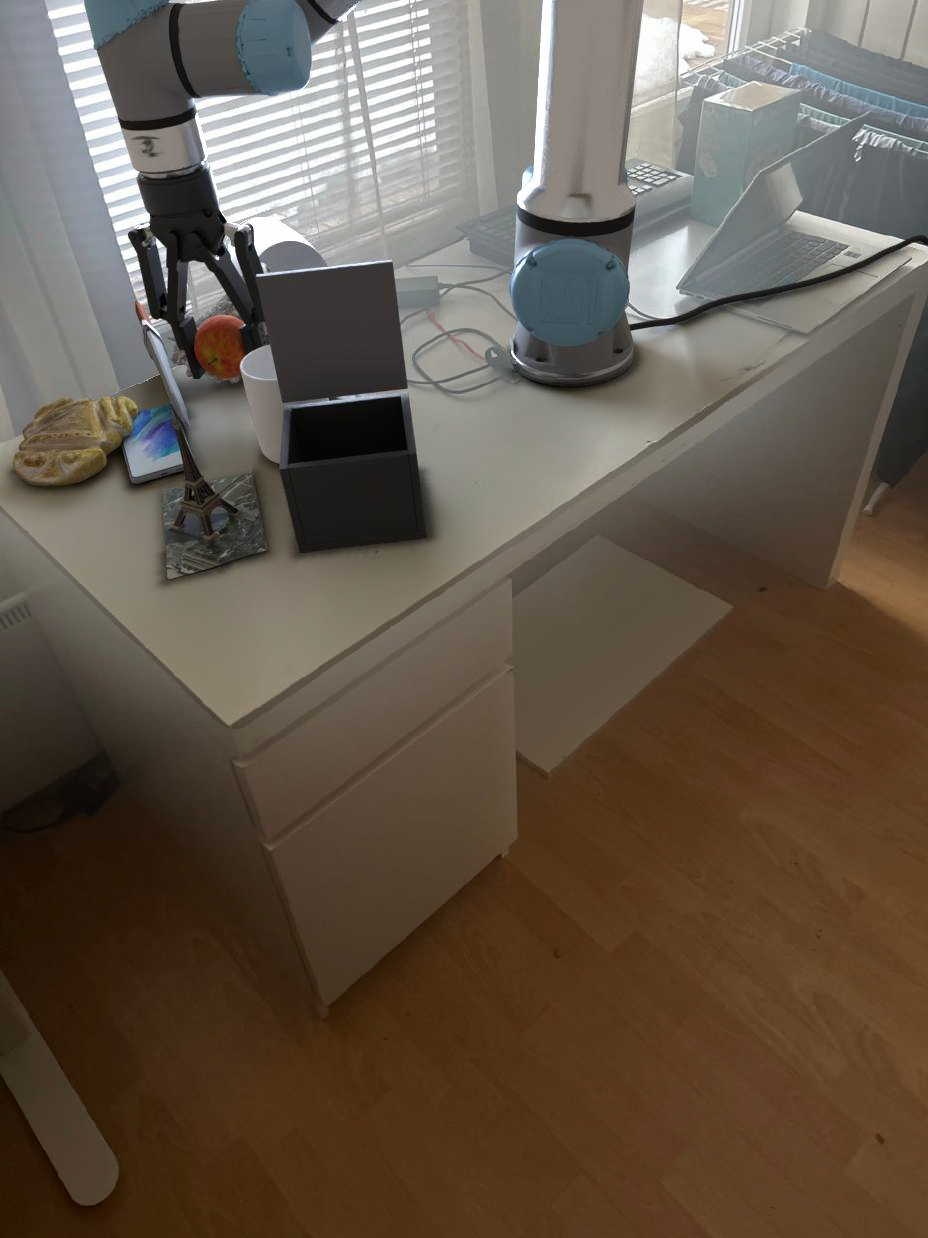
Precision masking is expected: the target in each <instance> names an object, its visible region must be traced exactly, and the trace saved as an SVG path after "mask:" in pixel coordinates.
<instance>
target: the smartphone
mask: <svg viewBox="0 0 928 1238" xmlns="http://www.w3.org/2000/svg"><path fill="white" fill-rule="evenodd" d="M171 409H172V410H171ZM172 411H173V413H172ZM173 414H174V416H173ZM174 417H175V418H176V419H177V420H179V422H180V423H181V424H180V427H181V430H182V433H183V435H184V438H185V440H186V442H187V445H188V447H189V450H190V452H191V454H192V457H193V459H194V461H195V458H194V455H193V453H192V449H191V447H190V444H189V442H188V439H187V437H186V434H185V431H184V426H183V424H182V421H181V420H180V419H179V417H178V416H177V414H176V412H175V410H174V408H173V406H172V404H171V403H166V404H162V405H159V406H156V407H151V408H148V409H144V410H141V411H138V416H137V418H136V420H134V421H133V423H134V426H133V430H132V432H131V434H130V435H128V436H126V437H124V438H123V440H122V442H121V444H120V446H121V449H122V452H123V457H124V460H125V464H126V468H127V473H128V475H129V479H130V481H131V483H132V484H135V485H136V484H141V483H142V484H143V483H145V482H149V481H152V480H155V479H160V478H162V477H165V476H169V475H173V474H176V473H179V472H184V467H183V462H182V457H181V453H180V449H179V444H178V440H177V436H176V432H175V429H174V426H172V421H173V419H174ZM195 462H196V461H195Z"/></svg>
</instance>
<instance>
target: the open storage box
mask: <svg viewBox="0 0 928 1238" xmlns="http://www.w3.org/2000/svg"><path fill="white" fill-rule="evenodd" d="M413 423H414V422H413V416H412V408H411V400H410V394H409V391H404V392H394V393H386V394H378V395H376V396H367V397H359V398H350V399H333V400H329V401H324V402H315V403H307V404H298V405H288V406H284V409H283V423H282V437H281V452H280V464H279V469H278V470H279V475H280V478H281V483H282V487H283V491H284V495H285V499H286V503H287V508H288V511H289V515H290V520H291V524H292V528H293V532H294V536H295V541H296V544H297V549H298V552H299V553H300V554H303V553H312V552H319V551H327V550H336V549H344V548H351V547H361V546H370V545H377V544H386V543H393V542H394V543H395V542H402V541H410V540H419V539H426V538H427V529H426V521H425V512H424V504H423V503H424V502H423V495H422V487H421V486H422V485H421V479H420V478H421V477H420V471H419V470H420V469H419V462H418V454H417V446H416V445H417V444H416V438H415V431H414V430H415V429H414V424H413Z"/></svg>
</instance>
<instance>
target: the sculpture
mask: <svg viewBox="0 0 928 1238" xmlns="http://www.w3.org/2000/svg"><path fill="white" fill-rule="evenodd" d="M138 412H139V410H138V406H137V404H136V402H135V401H134V400H132V399H131V398H129V397H128V396H125V395H120V396H119V397H117V398H116V399H115V398H114V397H111V396H103V397H101V398H100V400H93V399H91V398H90V397H82V398H79V399H76V400H74V399H73V398H72V397H67V396H63V397H60V398H58V399H56V400H54V401H52V402H50V403H48V404H45V405H43V406H42V407H40V408H39V409H38V410H37V411H36V412H35V414H34V415H33V419H32V420H31V421H30V422H29V423H28V424H27V425H26V426H25V427H24V428H23V429H22V435H23V438H24V439H23V440H22V441H21V442H20V443H19V445H18V449H19V450H18V451H17V452H15V454H14V456H13V459H12V467H13V469H14V472H15V473H16V475H17V477H18V478H19V479H21V480H22V481H23V482H25V483H27V484H29V485H32V486H37V487H54V486H64V485H70V484H71V485H72V484H76V483H77V484H78V483H80V482H83V481H86V480H88V479H89V478H90V477H92V476H95V475H96V474H97V473H100V472H101V471H102V470H103V469H104V468H105V467H106V466H107V463H108V459H107V456H108V455H109V454H110V453H112V452H113V451H114V450H116V449H118V448H119V447H120V446H121V442H122V440H123V438H124V437H126V436H128V435H130V434H131V432H132V430H133V426H134V423H133V421H134V420H136V418H137V416H138Z"/></svg>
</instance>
